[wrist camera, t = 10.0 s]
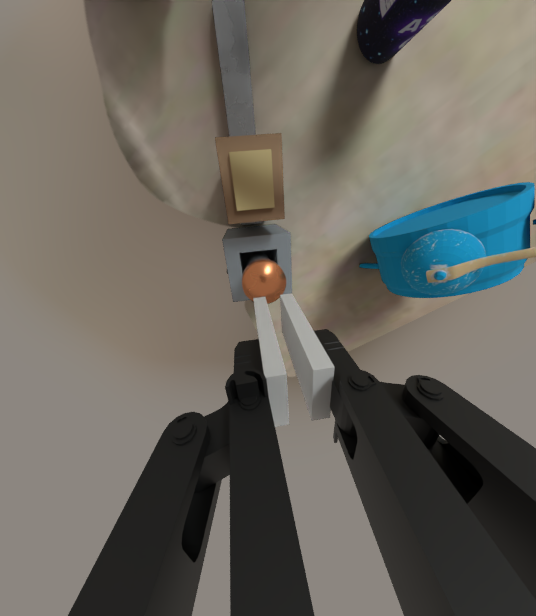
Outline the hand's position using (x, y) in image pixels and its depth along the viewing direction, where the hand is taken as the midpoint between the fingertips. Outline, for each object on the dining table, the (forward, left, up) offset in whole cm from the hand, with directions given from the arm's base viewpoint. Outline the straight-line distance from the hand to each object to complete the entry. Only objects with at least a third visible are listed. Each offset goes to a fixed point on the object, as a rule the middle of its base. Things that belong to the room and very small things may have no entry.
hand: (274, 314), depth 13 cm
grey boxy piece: (0, 0, -20) cm, 20 cm away
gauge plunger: (0, 0, -13) cm, 13 cm away
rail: (-14, 0, -20) cm, 25 cm away
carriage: (-8, 0, -20) cm, 22 cm away
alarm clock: (0, +23, -21) cm, 31 cm away
